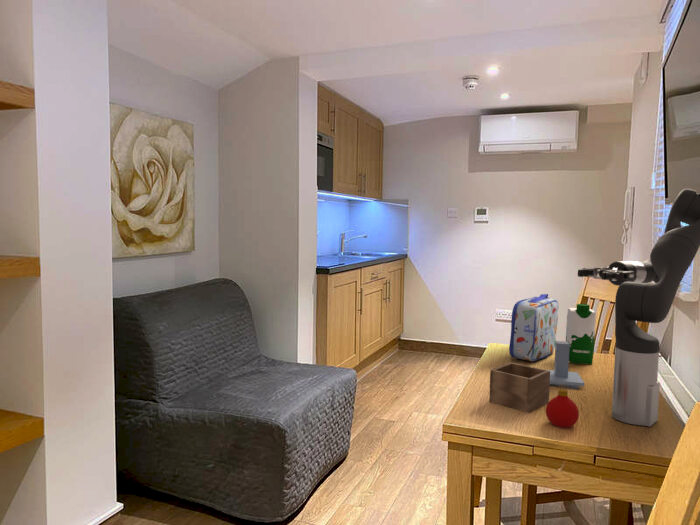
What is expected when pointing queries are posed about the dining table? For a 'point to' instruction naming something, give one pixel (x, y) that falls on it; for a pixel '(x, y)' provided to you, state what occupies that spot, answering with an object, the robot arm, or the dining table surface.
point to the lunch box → (533, 328)
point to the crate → (519, 387)
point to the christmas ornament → (562, 410)
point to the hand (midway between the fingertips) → (590, 274)
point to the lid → (564, 368)
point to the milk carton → (581, 334)
